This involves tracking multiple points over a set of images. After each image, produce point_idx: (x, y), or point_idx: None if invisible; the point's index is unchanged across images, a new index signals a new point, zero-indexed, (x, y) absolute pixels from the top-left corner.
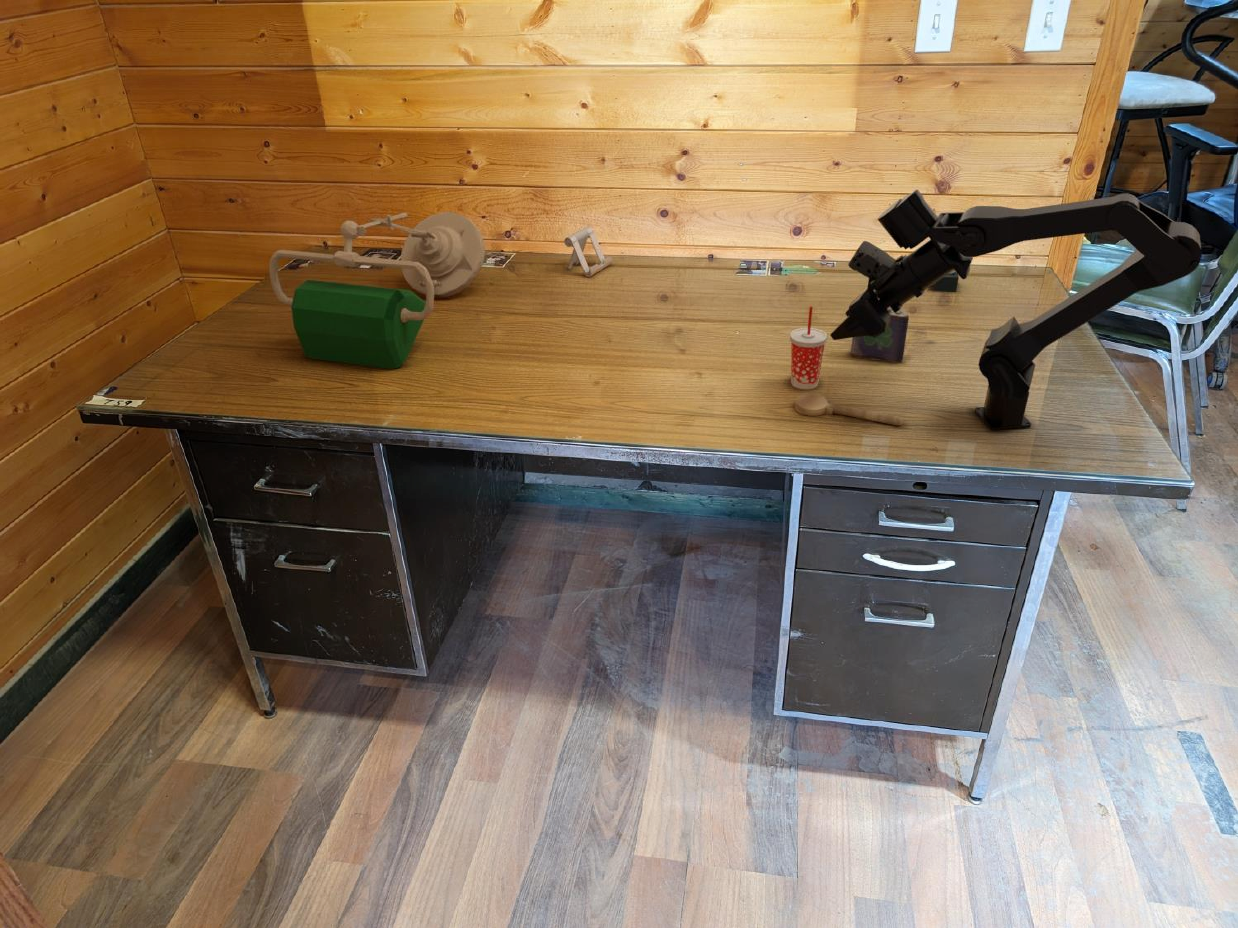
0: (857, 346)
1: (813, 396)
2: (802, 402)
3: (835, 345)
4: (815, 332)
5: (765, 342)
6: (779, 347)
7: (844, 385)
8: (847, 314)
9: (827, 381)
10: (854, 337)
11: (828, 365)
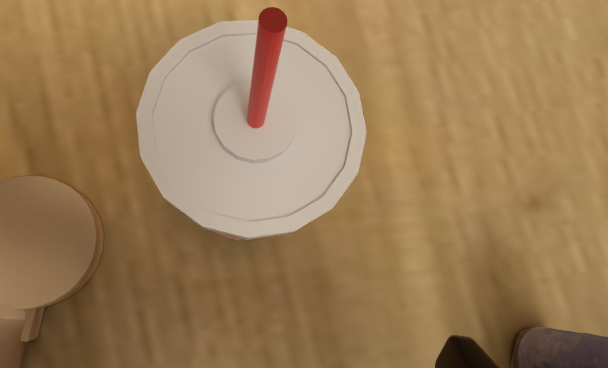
0: (542, 359)
1: (75, 240)
2: (10, 204)
3: (579, 259)
4: (314, 158)
5: (516, 22)
6: (496, 70)
7: (264, 343)
8: (446, 355)
9: (282, 272)
10: (572, 345)
11: (414, 257)
